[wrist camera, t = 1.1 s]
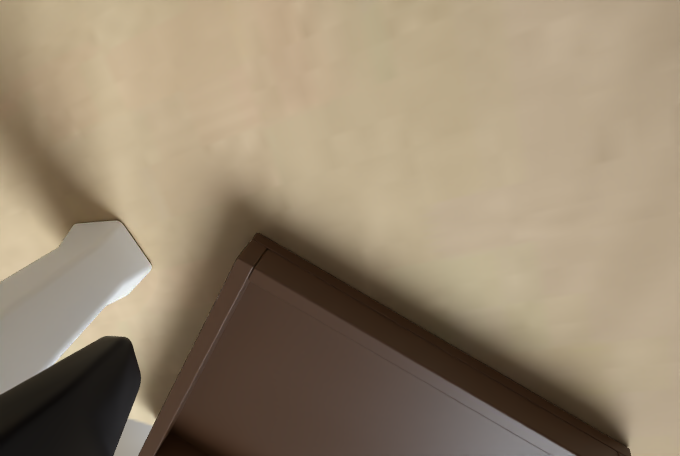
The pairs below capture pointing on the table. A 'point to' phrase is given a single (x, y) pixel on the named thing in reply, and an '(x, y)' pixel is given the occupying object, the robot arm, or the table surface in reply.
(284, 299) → the tray
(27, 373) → the perfume bottle
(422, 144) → the table surface
